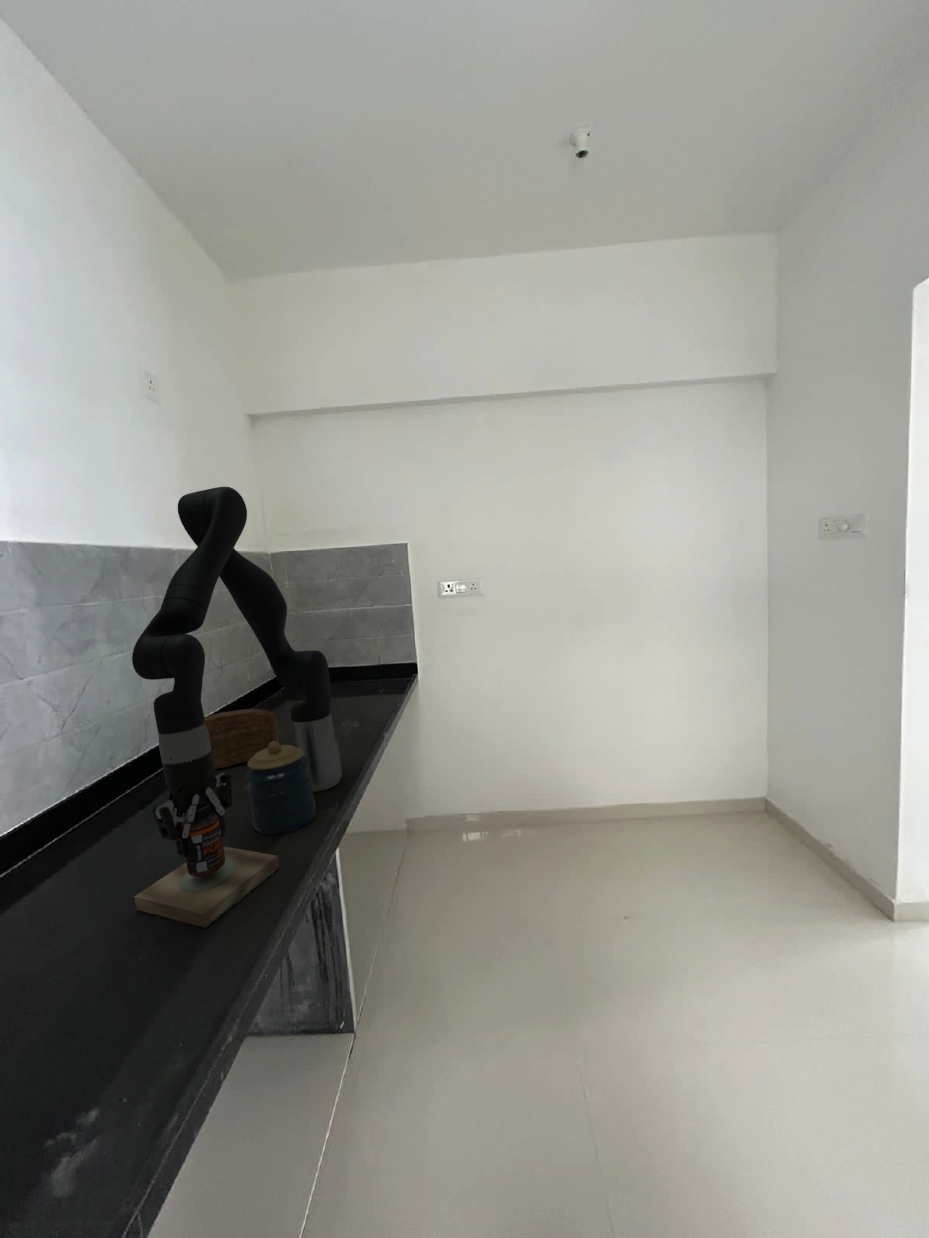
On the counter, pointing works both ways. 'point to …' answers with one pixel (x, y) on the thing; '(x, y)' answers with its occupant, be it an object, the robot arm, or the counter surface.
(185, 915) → the oak board
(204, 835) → the supplement bottle
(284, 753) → the canister
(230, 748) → the bread
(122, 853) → the counter surface
